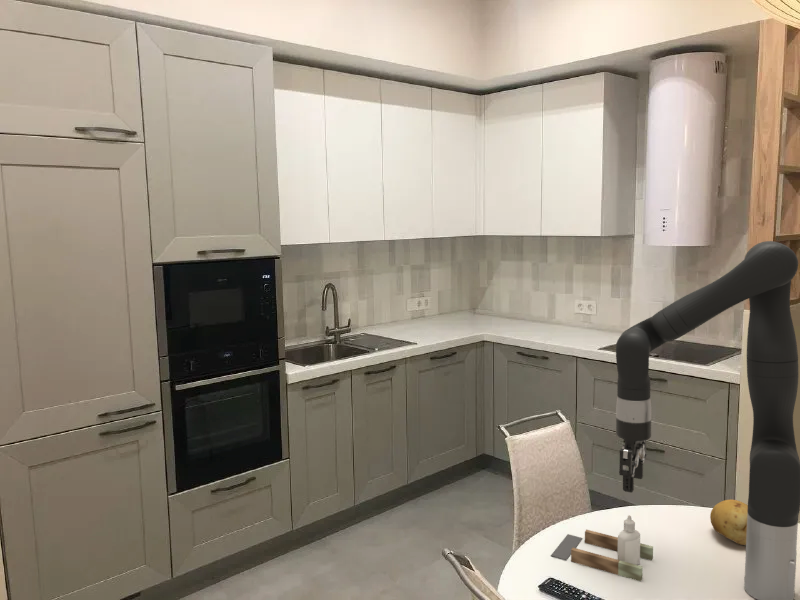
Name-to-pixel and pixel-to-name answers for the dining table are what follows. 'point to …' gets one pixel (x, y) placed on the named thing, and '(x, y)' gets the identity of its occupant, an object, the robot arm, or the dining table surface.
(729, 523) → the potato
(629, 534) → the eye dropper bottle
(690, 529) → the dining table surface
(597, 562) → the walnut channel
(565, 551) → the plate
